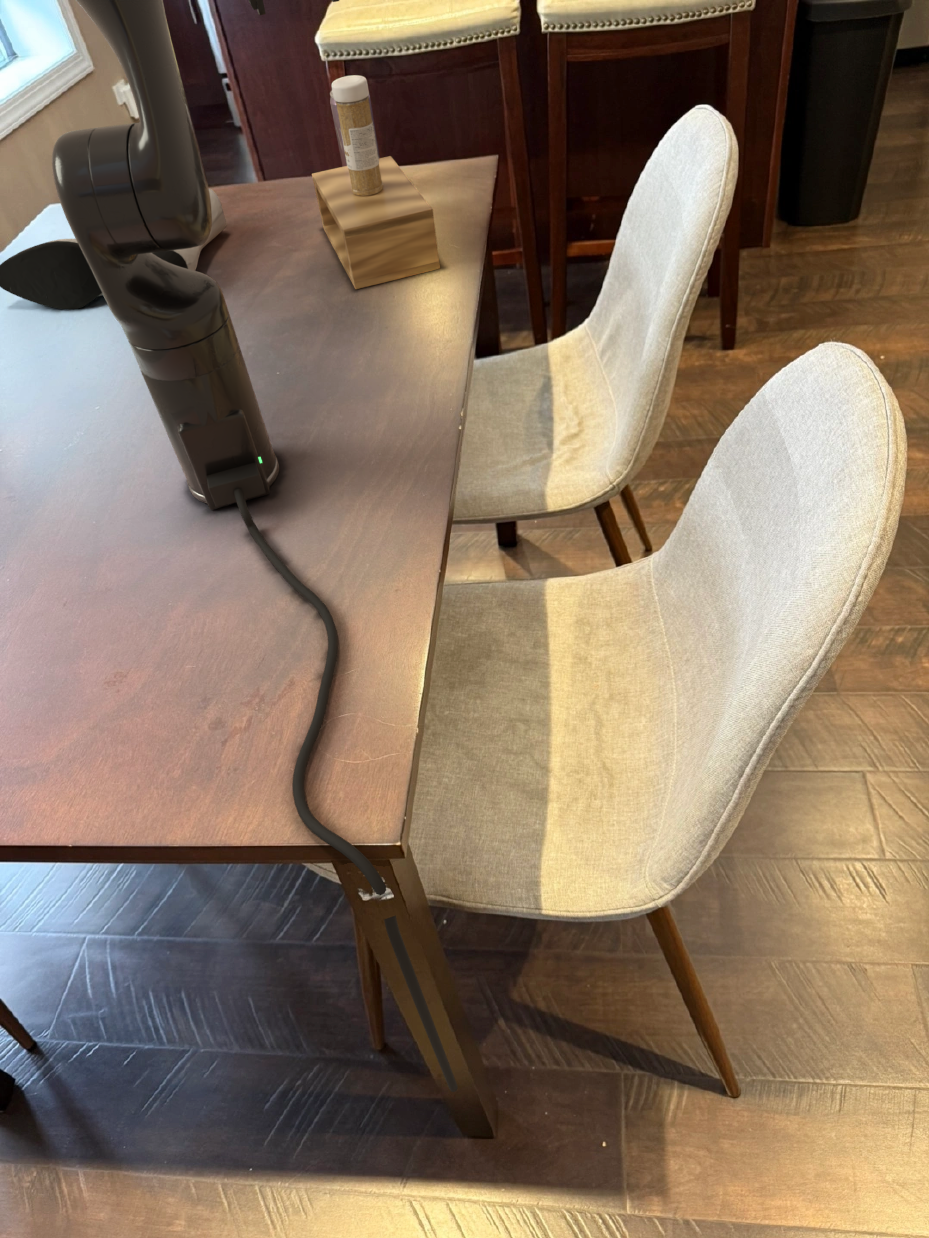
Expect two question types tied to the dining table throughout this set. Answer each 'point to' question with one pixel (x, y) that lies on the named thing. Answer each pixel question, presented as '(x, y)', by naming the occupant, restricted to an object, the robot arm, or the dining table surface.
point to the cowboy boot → (79, 268)
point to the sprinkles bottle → (358, 134)
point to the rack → (377, 226)
